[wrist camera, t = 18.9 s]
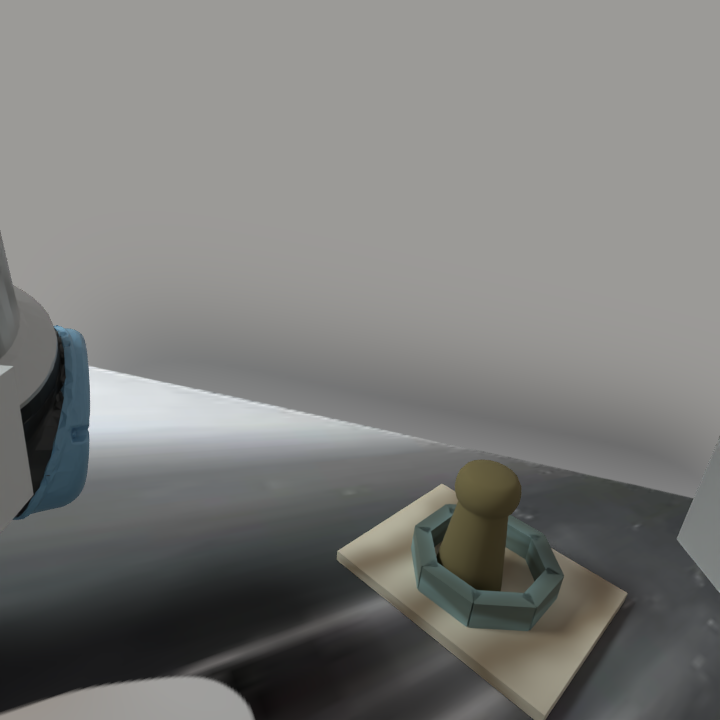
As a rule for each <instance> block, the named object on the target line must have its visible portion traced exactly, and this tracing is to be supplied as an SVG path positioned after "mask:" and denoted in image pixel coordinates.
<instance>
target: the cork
mask: <svg viewBox="0 0 720 720" xmlns="http://www.w3.org/2000/svg"><path fill="white" fill-rule="evenodd" d="M455 493H456V497H457V499H458V502H457V505H456V508H455V510H454V513H453V515H452V518H451V520H450V523H449V525H448V528H447V531H446V533H445V536H444V538H443V541H442V543H441V546H440V549H439V551H438V554H437V556H436V558H437V563H439V564H440V565H442V566H443V567H444V568H446V569H447V570H449V571H450V572H452V573H453V574H454V575H456V576H457V577H459V578H460V579H462V580H463V581H464V582H466V583H467V584H469V585H470V586H472V587H473V588H474V589H476V590H484V591H501V586H502V577H503V567H504V557H505V547H506V537H507V526H508V516H509V515H511V514H512V513H513V512H514V510H515V509H516V508H517V506H518V505H519V502H520V498H521V485H520V482H519V480H518V477H517V475H516V474H515V473H514V472H513V471H512V470H511V469H509V468H508V467H506V466H505V465H502V464H500V463H498V462H494V461H491V460H474V461H471V462H468V463H467V464H466V465H465V466H464V467H463V468H461V469H460V471H459V473H458V475H457V478H456V482H455Z"/></svg>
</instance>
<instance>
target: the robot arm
mask: <svg viewBox="0 0 720 720" xmlns="http://www.w3.org/2000/svg"><path fill="white" fill-rule="evenodd" d="M89 417H90V384H89V367H88V357H87V349H86V344H85V340H84V338H83V336H82V334H80V333H79V332H78V331H76V330H73V329H64V328H63V327H60V326H58V325H56V326H53V324H52V321H51V319H50V317H49V315H48V313H47V312H46V311H45V309H44V308H43V307H42V306H41V304H39V303H38V302H37V301H36V300H35V299H34V298H33V297H31V296H30V295H29V294H27V293H26V292H24V291H23V290H21V289H19V288H17V287H16V286H14V285H13V284H12V280H11V275H10V271H9V267H8V262H7V258H6V254H5V250H4V246H3V241H2V237H1V233H0V534H1V532H2V531H3V530H4V529H5V528H6V527H7V525H8V524H9V523H10V522H11V521H12V520H19V519H23V518H25V517H27V516H29V515H30V514H32V513H36V512H41V511H45V510H50V509H54V508H59V507H62V506H65V505H67V504H69V503H71V502H72V501H73V500H75V499H76V498H77V497H78V496H79V494H80V493H81V491H82V489H83V487H84V485H85V481H86V476H87V470H88V459H89V432H88V427H89ZM677 540H678V541H679V543H680V544H681V545H682V546H683V548H684V549H685V550H686V551H687V553H688V554H689V555H690V556H691V558H692V559H693V560H694V561H695V563H696V564H697V565H698V566H699V568H700V569H701V570H702V571H703V573H704V574H705V575H706V576H707V578H708V579H709V580H710V581H711V583H712V584H713V585H714V586H715V588H716V589H717V590H718V591H719V593H720V437H719V439H718V442H717V444H716V447H715V449H714V451H713V454H712V456H711V458H710V461H709V463H708V466H707V468H706V470H705V473H704V475H703V478H702V480H701V482H700V485H699V487H698V490H697V492H696V494H695V497H694V499H693V501H692V504H691V506H690V508H689V511H688V513H687V516H686V518H685V520H684V523H683V525H682V528H681V530H680V532H679V535H678V537H677Z"/></svg>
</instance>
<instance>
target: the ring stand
mask: <svg viewBox="0 0 720 720" xmlns="http://www.w3.org/2000/svg"><path fill="white" fill-rule="evenodd" d="M457 502H458V499H457V497H456V493H455V491H453V490H452V489H450V488H448V487H446V486H445V485H443V484H441V485H439V486H438V487H436V488H435V489H433V490H432V491H430V492H429V493H427V494H425V495H424V496H422V497H421V498H419V499H418V500H416V501H415V502H413V503H411V504H410V505H408V506H407V507H405V508H404V509H402V510H401V511H399V512H398V513H396V514H394V515H393V516H391V517H390V518H388V519H387V520H385V521H384V522H382V523H380V524H379V525H377V526H376V527H374V528H373V529H371V530H370V531H368V532H366V533H365V534H363V535H362V536H360V537H359V538H357V539H356V540H354V541H352V542H351V543H349V544H348V545H346V546H345V547H343V548H342V549H340V550H338V552H337V560H338V561H339V562H340V563H341V564H342V565H344V566H345V567H346V568H347V569H349V570H350V571H351V572H352V573H354V574H355V575H356V576H357V577H359V578H360V579H361V580H362V581H363V582H365V583H366V584H367V585H368V586H370V587H371V588H372V589H373V590H375V591H376V592H377V593H378V594H380V595H381V596H382V597H383V598H384V599H386V600H387V601H388V602H389V603H391V604H392V605H393V606H394V607H396V608H397V609H398V610H399V611H400V612H402V613H403V614H404V615H405V616H407V617H408V618H409V619H410V620H412V621H413V622H414V623H415V624H417V625H418V626H419V627H420V628H421V629H423V630H424V631H425V632H426V633H428V634H429V635H430V636H431V637H433V638H434V639H435V640H436V641H438V642H439V643H440V644H441V645H442V646H444V647H445V648H446V649H447V650H449V651H450V652H451V653H452V654H454V655H455V656H456V657H457V658H459V659H460V660H461V661H462V662H463V663H465V664H466V665H467V666H468V667H470V668H471V669H472V670H473V671H475V672H476V673H477V674H478V675H479V676H481V677H482V678H483V679H484V680H486V681H487V682H488V683H489V684H491V685H492V686H493V687H494V688H496V689H497V690H498V691H499V692H500V693H502V694H503V695H504V696H505V697H507V698H508V699H509V700H510V701H512V702H513V703H514V704H515V705H517V706H518V707H519V708H520V709H521V710H523V711H524V712H525V713H526V714H528V715H529V716H530V717H531V718H533V719H534V720H546V718H547V717H548V715H549V714H550V712H551V711H552V709H553V708H554V706H555V705H556V703H557V702H558V700H559V699H560V697H561V696H562V694H563V693H564V691H565V690H566V688H567V687H568V685H569V684H570V682H571V681H572V679H573V678H574V676H575V675H576V673H577V672H578V670H579V669H580V667H581V666H582V664H583V663H584V661H585V660H586V658H587V657H588V655H589V654H590V652H591V651H592V649H593V648H594V646H595V645H596V643H597V642H598V640H599V639H600V637H601V636H602V634H603V633H604V631H605V630H606V628H607V627H608V625H609V624H610V622H611V621H612V619H613V618H614V616H615V615H616V613H617V612H618V610H619V609H620V607H621V606H622V604H623V603H624V601H625V598H626V596H627V593H626V592H625V591H623V590H621V589H620V588H618V587H616V586H615V585H613V584H611V583H610V582H608V581H606V580H604V579H603V578H601V577H599V576H598V575H596V574H594V573H593V572H591V571H589V570H587V569H586V568H584V567H582V566H581V565H579V564H577V563H576V562H574V561H572V560H570V559H569V558H567V557H565V556H564V555H562V554H560V553H559V552H557V551H555V550H553V549H552V548H551V547H550V545H549V543H548V541H547V539H546V537H545V535H543V534H542V533H541V532H539V531H537V530H536V529H534V528H532V527H530V526H529V525H527V524H525V523H523V522H522V521H520V520H518V519H516V518H515V517H513V516H511V515H509V516H508V526H507V537H506V547H505V557H504V567H503V577H502V586H501V591H484V590H476V589H474V588H473V587H472V586H470V585H469V584H467V583H466V582H464V581H463V580H462V579H460V578H459V577H457V576H456V575H454V574H453V573H452V572H450V571H449V570H447V569H446V568H444V567H443V566H442V565H440V564H439V563H437V558H436V556H437V554H438V551H439V549H440V546H441V543H442V541H443V538H444V536H445V533H446V531H447V528H448V525H449V523H450V520H451V518H452V515H453V513H454V510H455V508H456V505H457Z"/></svg>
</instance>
